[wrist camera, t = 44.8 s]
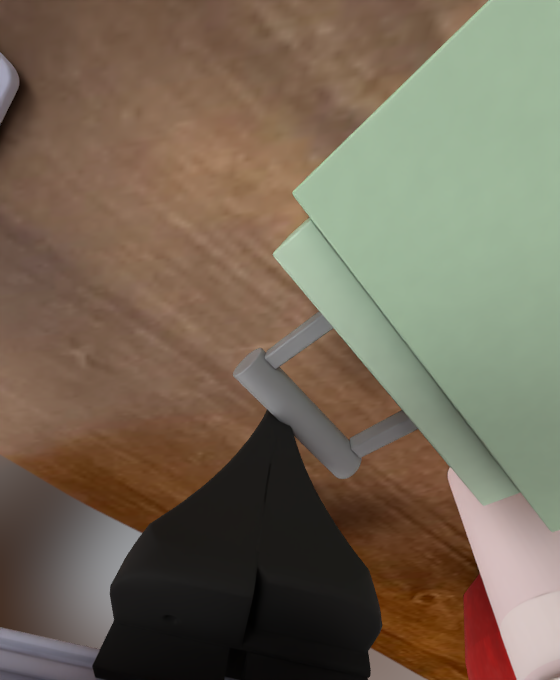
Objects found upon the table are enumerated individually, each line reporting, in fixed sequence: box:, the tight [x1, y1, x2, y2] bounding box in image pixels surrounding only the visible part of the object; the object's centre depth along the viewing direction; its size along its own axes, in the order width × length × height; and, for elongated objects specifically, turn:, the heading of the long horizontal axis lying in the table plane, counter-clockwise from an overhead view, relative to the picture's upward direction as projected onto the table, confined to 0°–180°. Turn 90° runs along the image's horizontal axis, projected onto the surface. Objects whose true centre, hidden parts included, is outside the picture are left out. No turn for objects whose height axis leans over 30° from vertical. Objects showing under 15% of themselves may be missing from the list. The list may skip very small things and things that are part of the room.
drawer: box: [233, 217, 520, 506], centre depth 9 cm, size 17×10×5 cm, turn 131°
